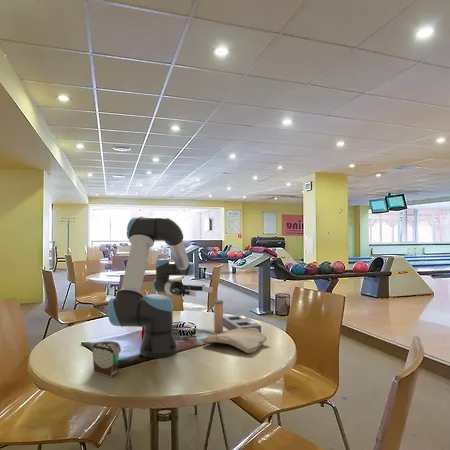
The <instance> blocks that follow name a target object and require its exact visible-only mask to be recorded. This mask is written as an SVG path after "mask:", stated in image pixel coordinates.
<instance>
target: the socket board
mask: <svg viewBox="0 0 450 450" xmlns="http://www.w3.org/2000/svg"><path fill="white" fill-rule="evenodd" d="M223 327H225V328H226V329H228V330H235V329H237V328H242V329H247V328H256V329H258V330H259V332H260V333H261V334H262V325H261V324H259V323H258V322H256V321H254V320H252V319H251V318H248V317H247V316H246V315H243V314H240V315H237V314H236V315H230V316H229V315H228V316H223Z"/></svg>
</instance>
